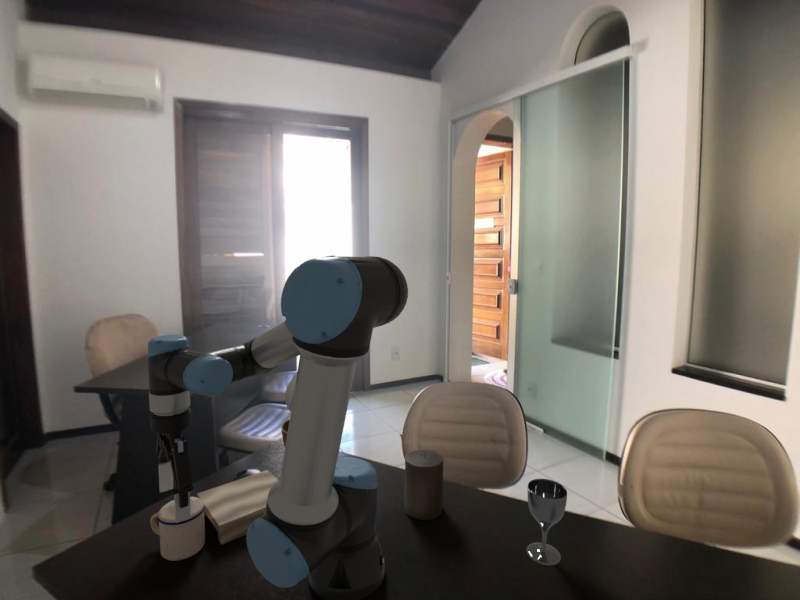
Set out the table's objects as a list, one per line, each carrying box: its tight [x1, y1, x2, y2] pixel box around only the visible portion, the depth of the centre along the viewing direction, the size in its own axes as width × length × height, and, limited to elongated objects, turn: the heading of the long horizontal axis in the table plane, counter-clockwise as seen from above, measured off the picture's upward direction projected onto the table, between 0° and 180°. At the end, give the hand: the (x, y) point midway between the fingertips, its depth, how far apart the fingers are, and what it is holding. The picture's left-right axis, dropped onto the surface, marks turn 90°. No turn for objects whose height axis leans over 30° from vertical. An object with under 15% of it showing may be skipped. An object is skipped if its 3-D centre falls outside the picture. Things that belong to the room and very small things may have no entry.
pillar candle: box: [404, 448, 444, 521], centre depth 108 cm, size 10×10×15 cm
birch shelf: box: [196, 469, 280, 545], centre depth 105 cm, size 16×18×5 cm
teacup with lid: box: [149, 496, 206, 562], centre depth 93 cm, size 12×9×12 cm
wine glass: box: [525, 478, 568, 567], centre depth 92 cm, size 8×8×15 cm
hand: (174, 504), depth 93 cm, fingers open, 13 cm apart
